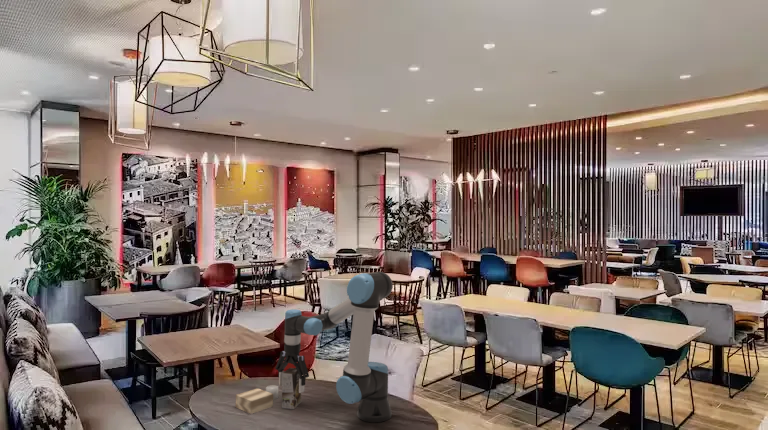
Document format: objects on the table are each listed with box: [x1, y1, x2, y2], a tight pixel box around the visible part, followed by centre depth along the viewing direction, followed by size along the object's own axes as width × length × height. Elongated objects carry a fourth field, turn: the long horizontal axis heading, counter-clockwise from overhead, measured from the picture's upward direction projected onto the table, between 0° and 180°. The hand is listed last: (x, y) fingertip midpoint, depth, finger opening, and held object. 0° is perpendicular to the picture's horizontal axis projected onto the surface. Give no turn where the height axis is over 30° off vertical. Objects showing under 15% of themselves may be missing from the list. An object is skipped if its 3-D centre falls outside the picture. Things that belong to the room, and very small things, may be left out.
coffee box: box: [281, 367, 302, 410], centre depth 227 cm, size 9×6×16 cm
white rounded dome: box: [265, 384, 279, 401], centre depth 236 cm, size 6×6×5 cm
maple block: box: [235, 388, 274, 415], centre depth 224 cm, size 12×12×6 cm
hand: (291, 388), depth 227 cm, fingers open, 13 cm apart
